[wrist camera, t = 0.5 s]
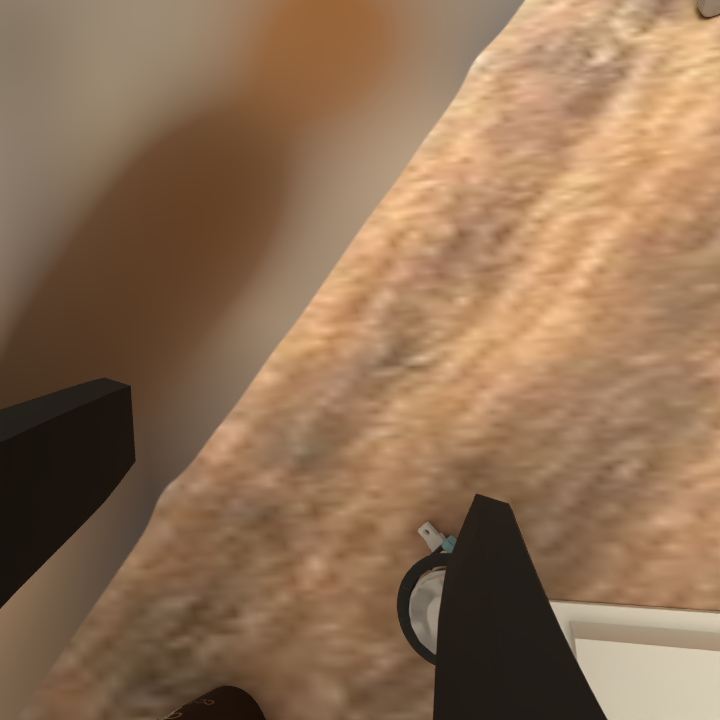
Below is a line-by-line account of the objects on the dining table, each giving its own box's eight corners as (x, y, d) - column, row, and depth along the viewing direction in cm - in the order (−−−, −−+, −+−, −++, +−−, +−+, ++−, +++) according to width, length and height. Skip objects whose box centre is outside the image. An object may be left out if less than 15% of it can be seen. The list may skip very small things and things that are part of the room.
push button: (399, 548, 34) (353, 584, 24) (453, 496, 33) (426, 513, 24) (468, 630, 31) (446, 705, 22) (527, 576, 31) (529, 628, 22)
